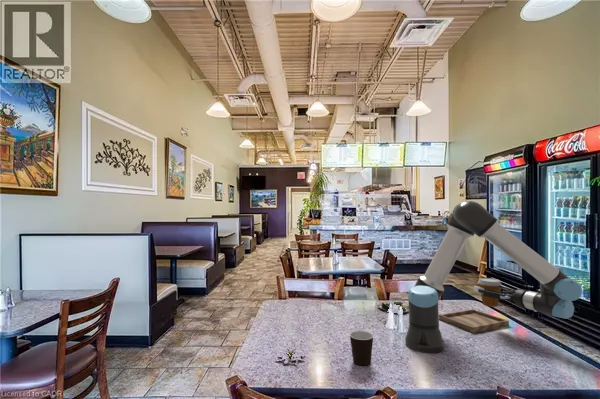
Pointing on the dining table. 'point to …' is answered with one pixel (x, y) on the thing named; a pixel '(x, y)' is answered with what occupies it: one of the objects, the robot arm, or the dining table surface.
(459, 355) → the dining table surface
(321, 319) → the dining table surface
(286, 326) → the dining table surface
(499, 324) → the serving tray
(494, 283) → the disposable coffee cup
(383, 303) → the salad plate
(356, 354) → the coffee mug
